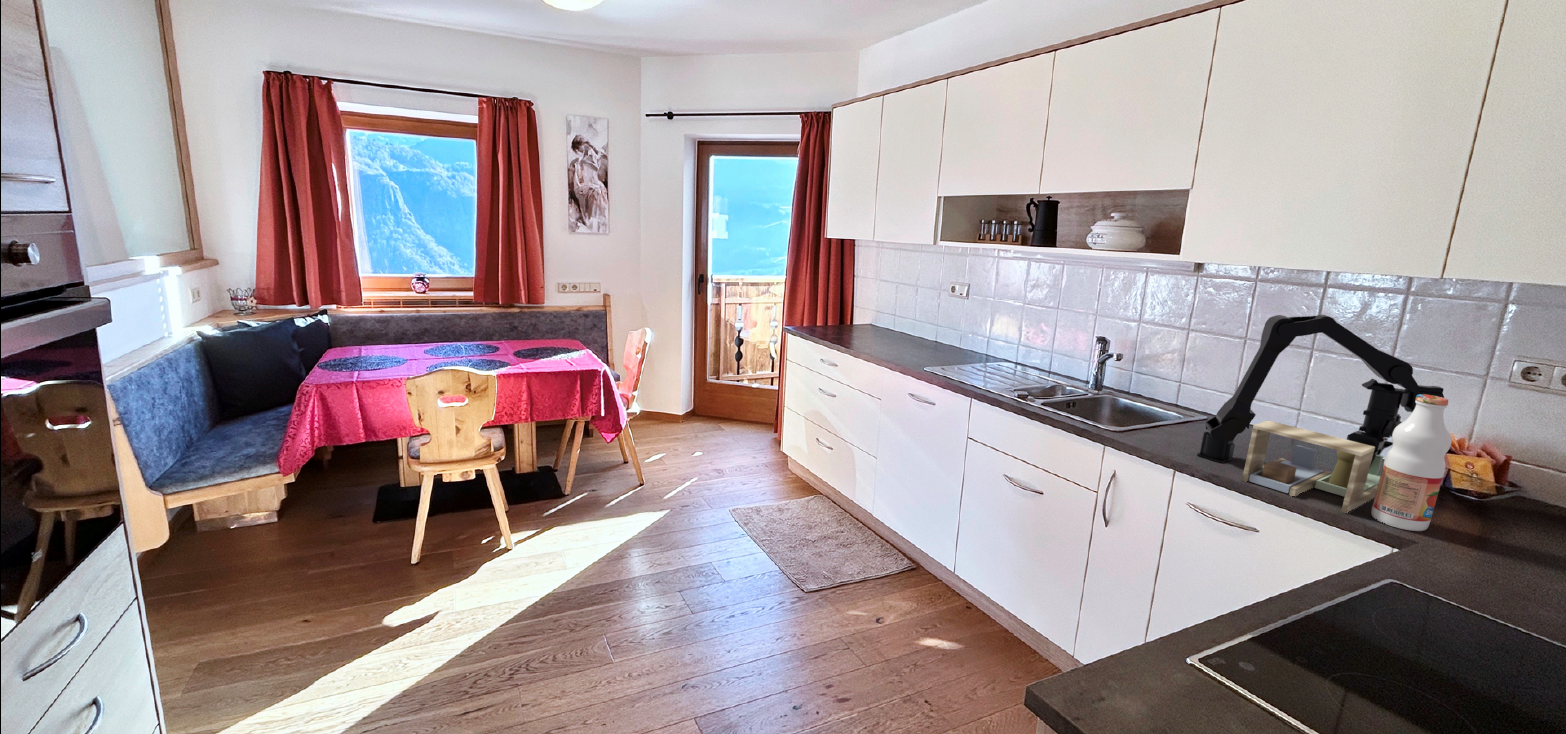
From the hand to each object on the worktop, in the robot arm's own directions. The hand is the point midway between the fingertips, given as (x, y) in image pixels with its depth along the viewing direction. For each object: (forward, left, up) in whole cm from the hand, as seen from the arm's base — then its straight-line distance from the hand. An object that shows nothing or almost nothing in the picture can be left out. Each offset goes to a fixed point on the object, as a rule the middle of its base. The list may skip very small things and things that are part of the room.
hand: (1367, 468), depth 170 cm
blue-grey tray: (-10, -19, -3) cm, 22 cm away
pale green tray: (0, -9, -3) cm, 10 cm away
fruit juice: (+13, -24, -3) cm, 28 cm away
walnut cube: (-10, -25, -3) cm, 27 cm away
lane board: (-5, -19, -3) cm, 20 cm away
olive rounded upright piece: (0, -15, -3) cm, 15 cm away
